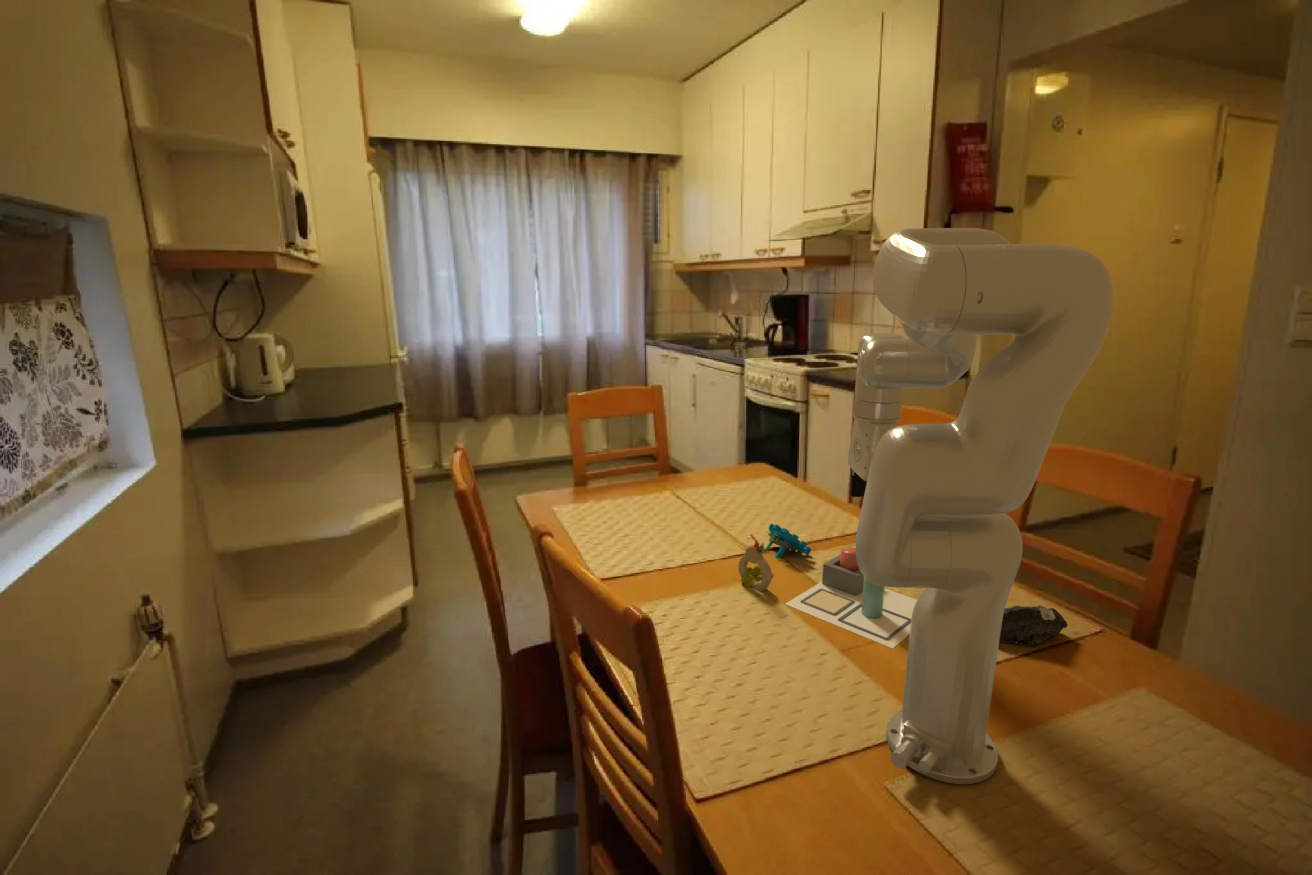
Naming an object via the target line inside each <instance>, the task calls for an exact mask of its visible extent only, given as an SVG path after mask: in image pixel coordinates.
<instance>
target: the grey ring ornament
mask: <svg viewBox="0 0 1312 875" xmlns="http://www.w3.org/2000/svg"><path fill="white" fill-rule="evenodd" d="M749 534H750V537H751V538H752V540H753V541H754V544H750V545H748V546H747V547H746V549H745V553H744V554H743V556H741V557H740V559H739V561H738V565H737V566H738V568H737V569H738V573H739V575H740V578H741V579H740V581H741V582H742V583H743V585H745V586H746V587H748V588H749V587H750V588H753V589H755V590H757V591H761V592H765V591H766V590H768V587H769V586H770V584H771V583H772V578H774V573H773V572H772V568H771V566H770V563H769V562H768V560H767V559H766V558H765V557H764V555H763V554H764V553H765V541H762V544H761V545H760V543H759V541H758V540H757V539H756V537H755V536H754V535H753V534H752V533H749ZM749 563H751V564H755V566H754V567H751V566H748V564H749ZM756 564H757V565H756Z"/></svg>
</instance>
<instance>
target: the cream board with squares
mask: <svg viewBox="0 0 1312 875" xmlns="http://www.w3.org/2000/svg"><path fill="white" fill-rule="evenodd" d="M862 597H863V592H862V593H860V594H859V595H857V596H854V595H851V594H848V593H846V592H843V591H840V590H838V589H835V588H832V587H829V586H827V585H824V584H822V581H820V582H819V583H817V584H815V585H813V586H812V587H810V588H809V589H807V590H806V591H804V592H802V593H801V594H799V595H797V596H795V597H794V598H792V599H791V600H789V601H787V602H786V603H784V605H785V606H788V607H791V608H793V609H796V610H798V611H801V612H803V613H805V614H807V615H810V616H811V617H815V618H817V619H820V620H822V621H824V622H827V623H830V624H831V625H834V626H836V627H838V628H842V629H843V630H846V631H848V632H851V633H854V634H856V635H859V636H861V637H863V638H866V639H868V640H870V641H872V642H876V643H877V644H879V645H883V646H885V647H887V648H890V649H892V650H893V649H894V648H895V647H896V646H898V645H899V644H900V643H901V642H902V641H903V640H905V639H906V638H907V637H908V636H910V627H911V618H912V613H913V609H914V607H915V604H916V602H917V600H918V599H916V598H912V597H911V596H907V595H904V594H902V593H899V592H897V591H892V590H890V589H887V588H885V587H884V599H883V612H882V617H881V618H877V619H872V618H868V617H865V616H864V615H862V613H861V611H862Z"/></svg>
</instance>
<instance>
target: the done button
mask: <svg viewBox="0 0 1312 875" xmlns="http://www.w3.org/2000/svg"><path fill="white" fill-rule="evenodd" d="M839 555H840V567H842V568H845V569H848V570H851V571H854V572H855V571H857V570H859V567H858V564H857V560H856V547H850V546H849V547H842V548H841V549H840V554H839Z"/></svg>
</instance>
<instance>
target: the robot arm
mask: <svg viewBox="0 0 1312 875" xmlns="http://www.w3.org/2000/svg"><path fill="white" fill-rule="evenodd" d="M872 280H873V281H872V282H873V288H874V293H875V295H876V298H877V300H878V301H879V303H880V304H881V305H882V306H883V307H884V308H885V309H886V310H887V311H888V312H889V313H891V314H892V315H893V316H894V317H896V318H897V319H898V321H899V324H900V327H901V329H902V331H903V332H904V333H905V335H906V336H907V338H906V337H905V336H904V335H900V334H897V333H896V334H895V333H889V332H887V333H884V332H883V333H882V332H876V333H875V332H874V333H867V334H865V335H863V336H862V337H861V338H860V339H859V342H858V347H857V348H858V349H857V360H856V361H857V362H856V373H855V374H856V375H855V384H854V385H855V386H854V398H853V400H854V401H853V412H852V417H853V418H854V419H853V423H852V427H851V428H852V429H851V432H850V433H851V434H850V442H849V450H848V456H847V457H848V459H847V463H848V466H849V468H851V483H850V494H849V495H850V496H851V498H863V499H862V500H863V501H862V505H861V510H860V514H859V519H858V523H857V529H856V536H855V548H856V560H857V564H858V567H859V569H860V571H861V573H862V574H863V576H864V577H865V578H866V579H867V580H869V581H870V582H872V583H874V584H876V585H879V586H884V588H885V587H886V588H908V589H909V588H914V589H915V588H917V589H923V591H922V592H921V594H920V595H919V596H918V598H917V599H916V600H917V602H916V604H915V607H914V609H913V613H912V618H911V627H910V634H909V638H908V649H907V657H906V669H905V678H904V688H903V689H904V690H903V698H902V706H901V707H902V710H900V711H898V712H896V713H894V714H893V715H892V717H890V719H889V721H888V722H887V727H886V740H887V743H888V746H889V748H890V749H891V751H892V753H891V754H890V761H891V763H892V764H893V765H894V766H895V767H896V768H898V769H905V768H906V767H909V768H910V769H912V770H914V771H915V772H916V773H919V774H921V775H923V776H925V777H927V778H930V779H932V780H935V781H939V782H943V783H947V784H952V785H953V784H954V785H970V784H977V783H980V782H983V781H986V780H988V779H989V778H990V777H992V775H994V773H995V771H996V770H997V766H998V762H999V752H998V749H997V746H996V744H995V743H994V741H993V740H992V738H991V737H990V736H989V734H987V732H988V727H989V726H988V724H989V718H990V711H991V703H992V695H993V689H994V687H993V686H994V681H995V674H996V666H997V659H998V653H999V645H1000V642H999V640H1000V633H1001V627H1002V621H1003V615H1004V610H1005V608H1006V605H1007V602H1008V600H1009V599H1008V598H1009V595H1010V593H1011V589H1012V587H1013V585H1014V582H1015V579H1016V577H1017V574H1018V572H1019V568H1020V565H1021V562H1022V557H1023V549H1024V548H1023V538H1022V534H1021V531H1020V529H1019V527H1018V525H1017V523H1016V522H1015V521H1014V519H1013V518H1012V517H1011V516H1010V515H1008V514H1007V513H1011V512H1012V511H1015V510H1017V509H1019V508H1020V507H1021V506H1022V505H1024V503H1025V501H1026V500H1027V499H1028V498H1029V495H1030V493H1031V492H1032V489H1033V487H1034V485H1035V483H1036V480H1037V478H1038V476H1039V472H1040V470H1041V468H1042V466H1043V463H1044V460H1045V458H1046V455H1047V453H1048V450H1049V447H1050V445H1051V443H1052V441H1053V438H1054V435H1055V432H1056V429H1057V427H1058V425H1059V422H1060V419H1061V416H1062V414H1063V411H1064V409H1065V408H1066V405H1067V403H1068V402H1069V400H1070V398H1071V396H1072V395H1073V393H1074V392H1075V390H1076V388H1077V387H1078V385H1079V384H1080V382H1081V381H1082V379H1083V378H1084V376H1085V375H1086V373H1088V370H1089V369H1090V367H1091V366H1092V364H1093V362H1094V361H1095V359H1096V358H1097V355H1098V354H1099V351H1100V350H1101V348H1102V346H1103V344H1104V343H1105V342H1104V341H1105V339H1106V336H1107V334H1108V331H1109V328H1110V325H1111V321H1112V315H1113V307H1114V290H1113V282H1112V278H1111V274H1110V273H1109V270H1108V268H1107V267H1106V265H1105V263H1104V262H1103V261H1102V260H1101V259H1100V258H1099V257H1097V256H1096V255H1094V254H1092V252H1089V251H1086V250H1083V249H1080V248H1077V247H1071V246H1068V245H1067V246H1066V245H1059V244H1050V243H1049V244H1047V243H1011V242H1009V240H1008V239H1007V238H1006V237H1004V236H1003V235H1001V234H999V233H997V232H996V231H993V230H989V229H985V228H976V227H945V228H944V227H940V228H939V227H937V228H935V227H934V228H933V227H931V228H926V227H921V228H920V227H918V228H904V229H902V230H898V231H896V232H894V233H893V234H892V235H890V236H889V237H888V238H887V239H886V240H885V242H883V244H882V246H881V248H880V249H879V251H878V253H877V255H876V259H875V262H874V266H873V272H872ZM977 335H978V336H979V335H980V336H982V335H986V336H987V335H989V336H990V335H1015V337H1014V338H1015V339H1014V340H1013V341H1012V342H1011V343H1010V344H1008V346H1006V347H1005V348H1003V349H1002V350H1000V351H999V352H997V353H996V354H995V355H994V356H993V357H992V358H990V360H988V362H986V364H985V365H984V366H983V367H982V368H980V370H979V371H978V372H977V373H976V374H975V375H974V376H973V378H972V380H971V381H970V383H969V385H968V386H967V389H966V391H965V396H964V399H963V401H962V406H961V410H960V412H959V414H958V417H957V418H956V419H955V420H954V421H951V422H948V423H915V424H914V423H911V424H910V423H909V424H904V425H903V424H902V425H897V424H898V423H899V422H900V421H901V420H902V408H903V399H904V390H905V389H914V390H915V389H918V390H919V389H923V390H938V389H943V388H946V387H949V386H951V385H953V384H954V383H956V382H957V381H958V380H959V379H960V378H961V377H963V375H965V373H966V372H967V371H968V370H969V369H970V367H971V366H972V364H973V361H974V358H975V355H976V350H977Z"/></svg>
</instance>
